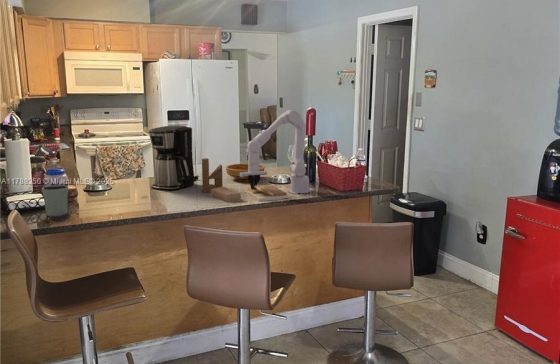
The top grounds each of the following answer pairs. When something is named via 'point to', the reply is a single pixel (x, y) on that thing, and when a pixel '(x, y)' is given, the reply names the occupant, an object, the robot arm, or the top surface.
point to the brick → (225, 194)
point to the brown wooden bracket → (205, 176)
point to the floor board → (264, 196)
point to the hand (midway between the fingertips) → (253, 189)
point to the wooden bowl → (240, 171)
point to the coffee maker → (173, 157)
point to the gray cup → (55, 200)
